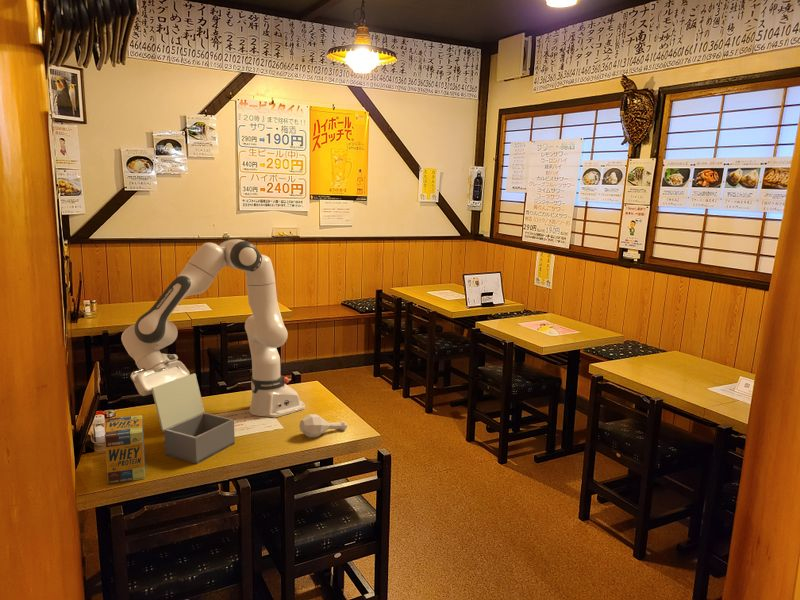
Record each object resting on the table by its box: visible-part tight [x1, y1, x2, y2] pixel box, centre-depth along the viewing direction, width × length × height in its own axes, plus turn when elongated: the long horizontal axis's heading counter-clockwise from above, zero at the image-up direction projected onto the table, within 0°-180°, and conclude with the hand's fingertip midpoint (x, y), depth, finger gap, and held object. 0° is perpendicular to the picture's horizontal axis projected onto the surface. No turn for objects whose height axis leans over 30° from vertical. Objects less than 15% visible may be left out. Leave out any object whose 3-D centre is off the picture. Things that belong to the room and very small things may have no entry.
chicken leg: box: [299, 413, 348, 438], centre depth 216 cm, size 8×18×8 cm, turn 122°
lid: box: [151, 373, 206, 431], centre depth 202 cm, size 14×19×1 cm
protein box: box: [104, 414, 146, 485], centre depth 183 cm, size 10×15×16 cm
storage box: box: [163, 412, 236, 465], centre depth 200 cm, size 14×18×9 cm
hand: (174, 396), depth 203 cm, fingers closed
